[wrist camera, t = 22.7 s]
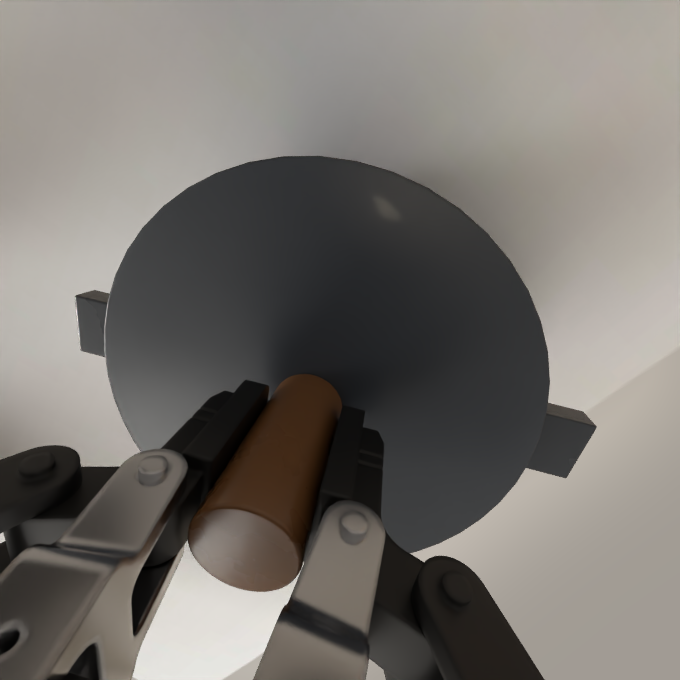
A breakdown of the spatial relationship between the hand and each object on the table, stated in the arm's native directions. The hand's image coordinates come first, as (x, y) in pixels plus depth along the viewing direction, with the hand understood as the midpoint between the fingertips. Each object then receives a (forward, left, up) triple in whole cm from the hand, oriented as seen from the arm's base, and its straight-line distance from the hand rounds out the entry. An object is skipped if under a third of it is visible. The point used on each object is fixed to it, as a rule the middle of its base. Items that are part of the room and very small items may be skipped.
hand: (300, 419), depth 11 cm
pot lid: (0, 0, -1) cm, 1 cm away
